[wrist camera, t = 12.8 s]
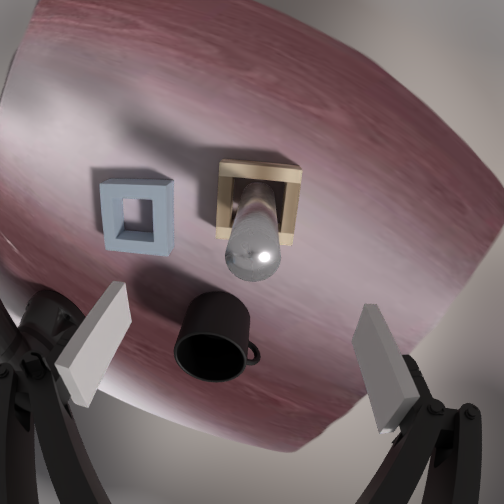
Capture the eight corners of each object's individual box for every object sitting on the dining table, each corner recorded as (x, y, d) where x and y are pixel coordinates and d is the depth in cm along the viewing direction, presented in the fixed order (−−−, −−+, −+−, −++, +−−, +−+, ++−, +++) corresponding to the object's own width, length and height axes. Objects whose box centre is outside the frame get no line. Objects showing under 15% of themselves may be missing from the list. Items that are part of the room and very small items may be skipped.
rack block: (219, 229, 38) (215, 238, 35) (223, 158, 34) (219, 162, 32) (290, 235, 38) (292, 245, 35) (299, 165, 34) (302, 170, 32)
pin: (240, 211, 37) (224, 279, 23) (242, 180, 35) (226, 229, 21) (272, 215, 37) (277, 283, 23) (276, 183, 35) (283, 234, 21)
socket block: (115, 240, 40) (105, 249, 37) (110, 178, 36) (99, 183, 33) (174, 246, 39) (167, 256, 37) (173, 180, 36) (166, 185, 33)
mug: (245, 354, 47) (242, 397, 39) (178, 323, 45) (163, 364, 37) (277, 316, 44) (278, 359, 36) (203, 279, 42) (189, 319, 33)
